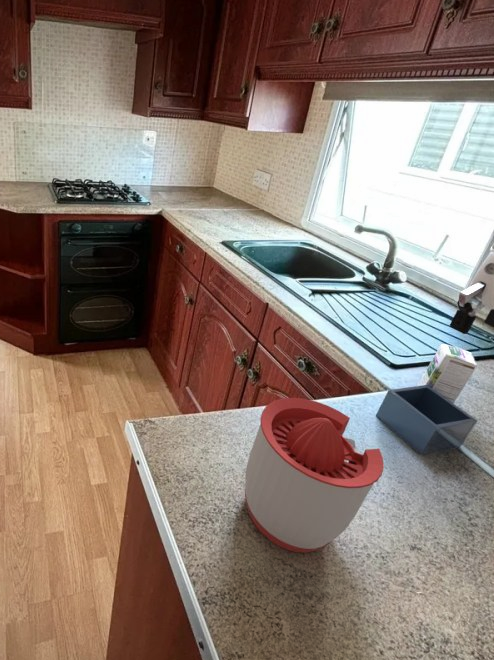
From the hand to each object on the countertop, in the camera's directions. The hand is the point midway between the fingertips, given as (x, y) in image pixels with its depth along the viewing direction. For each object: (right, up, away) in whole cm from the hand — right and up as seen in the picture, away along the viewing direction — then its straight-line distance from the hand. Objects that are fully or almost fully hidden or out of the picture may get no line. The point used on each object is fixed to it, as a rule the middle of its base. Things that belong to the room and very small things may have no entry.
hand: (475, 328), depth 81 cm
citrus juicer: (-45, -28, -18) cm, 56 cm away
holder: (-11, -21, +2) cm, 24 cm away
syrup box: (-2, -18, +9) cm, 21 cm away
